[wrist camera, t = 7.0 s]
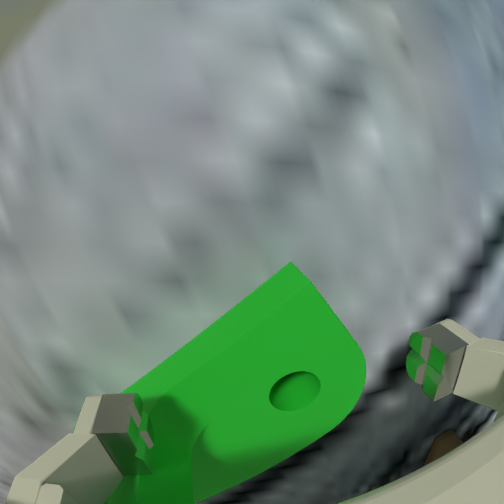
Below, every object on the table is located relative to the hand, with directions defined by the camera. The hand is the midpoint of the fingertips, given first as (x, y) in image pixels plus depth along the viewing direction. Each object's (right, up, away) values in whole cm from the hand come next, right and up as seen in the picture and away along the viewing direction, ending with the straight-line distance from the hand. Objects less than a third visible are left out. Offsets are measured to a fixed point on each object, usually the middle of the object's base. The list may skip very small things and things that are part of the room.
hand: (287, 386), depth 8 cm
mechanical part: (-3, -3, +4) cm, 5 cm away
